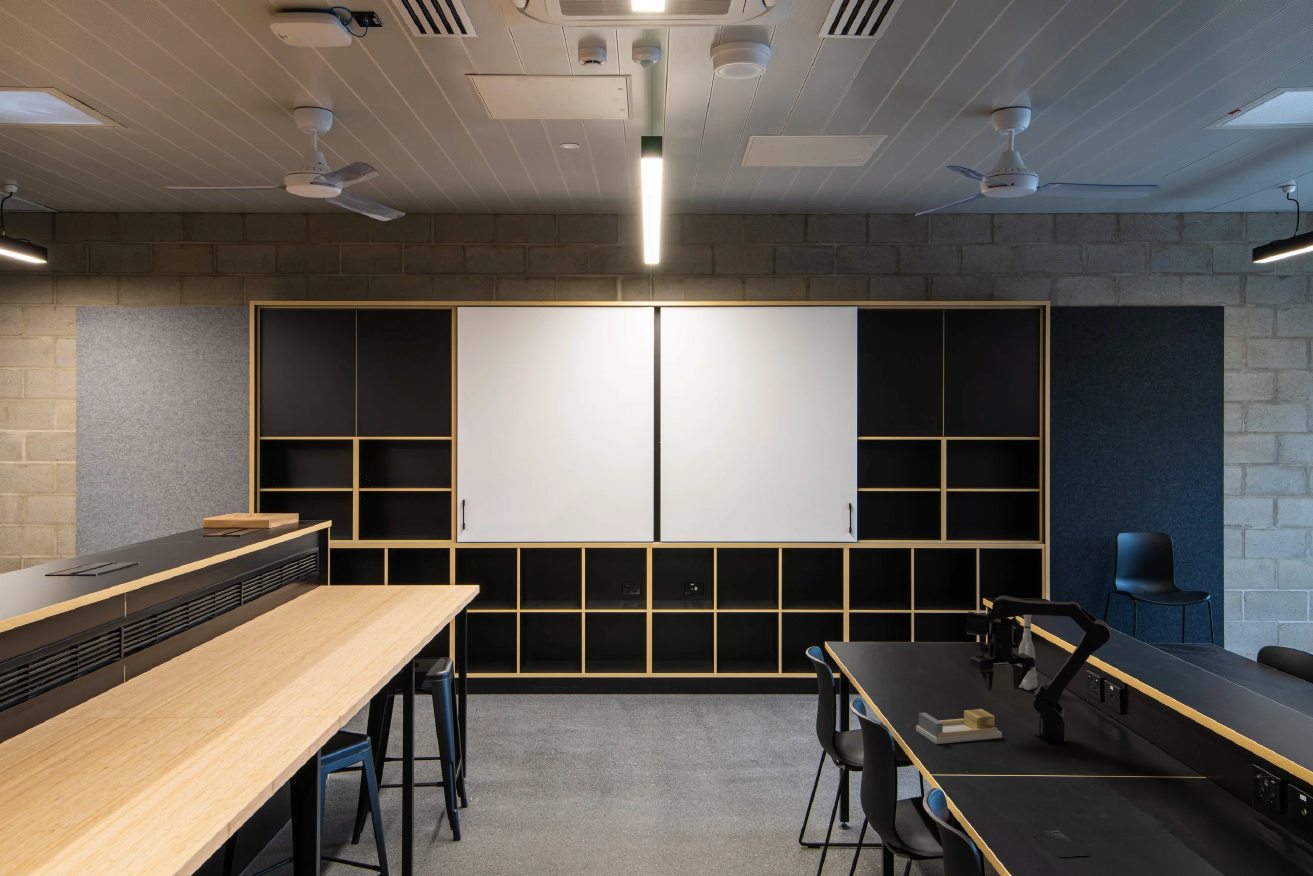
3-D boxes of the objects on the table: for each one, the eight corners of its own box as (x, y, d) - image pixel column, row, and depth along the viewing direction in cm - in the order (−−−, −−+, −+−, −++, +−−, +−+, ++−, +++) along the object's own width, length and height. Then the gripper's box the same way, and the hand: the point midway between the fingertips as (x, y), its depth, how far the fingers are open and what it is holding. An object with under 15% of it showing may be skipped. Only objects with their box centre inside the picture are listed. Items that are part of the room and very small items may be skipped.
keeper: (981, 722, 231) (981, 709, 231) (994, 729, 225) (994, 716, 225) (963, 723, 229) (964, 710, 229) (976, 731, 223) (977, 717, 223)
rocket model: (1012, 684, 272) (1014, 601, 272) (1034, 686, 271) (1036, 602, 270) (1017, 691, 265) (1019, 605, 265) (1040, 693, 263) (1042, 606, 263)
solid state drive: (1058, 860, 160) (1058, 857, 160) (1029, 835, 169) (1029, 832, 169) (1089, 858, 160) (1089, 855, 160) (1058, 833, 170) (1058, 830, 170)
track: (979, 725, 233) (979, 707, 233) (1001, 737, 223) (1002, 719, 223) (916, 730, 227) (916, 712, 227) (936, 744, 218) (936, 725, 218)
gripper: (1012, 630, 239) (1011, 679, 240) (959, 633, 235) (958, 683, 235) (1036, 639, 229) (1036, 691, 229) (982, 642, 225) (981, 695, 225)
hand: (1002, 690), depth 230 cm, fingers open, 9 cm apart
